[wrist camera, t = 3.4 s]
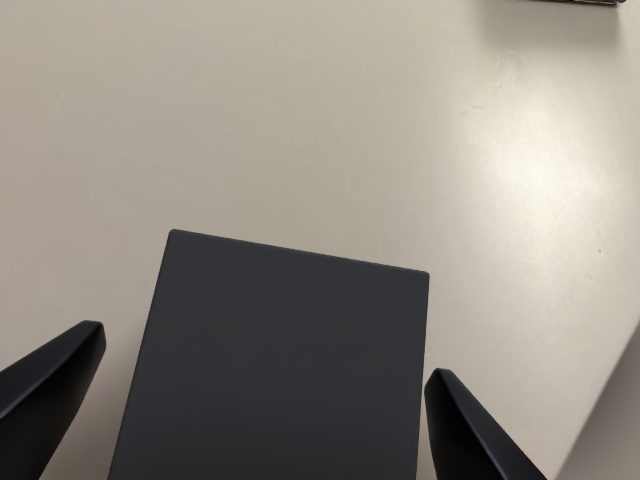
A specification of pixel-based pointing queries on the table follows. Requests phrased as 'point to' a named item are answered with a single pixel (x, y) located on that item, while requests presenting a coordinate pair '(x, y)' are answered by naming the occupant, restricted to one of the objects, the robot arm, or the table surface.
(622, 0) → the disk drive
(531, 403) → the table surface
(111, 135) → the table surface
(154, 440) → the dark grey square block
